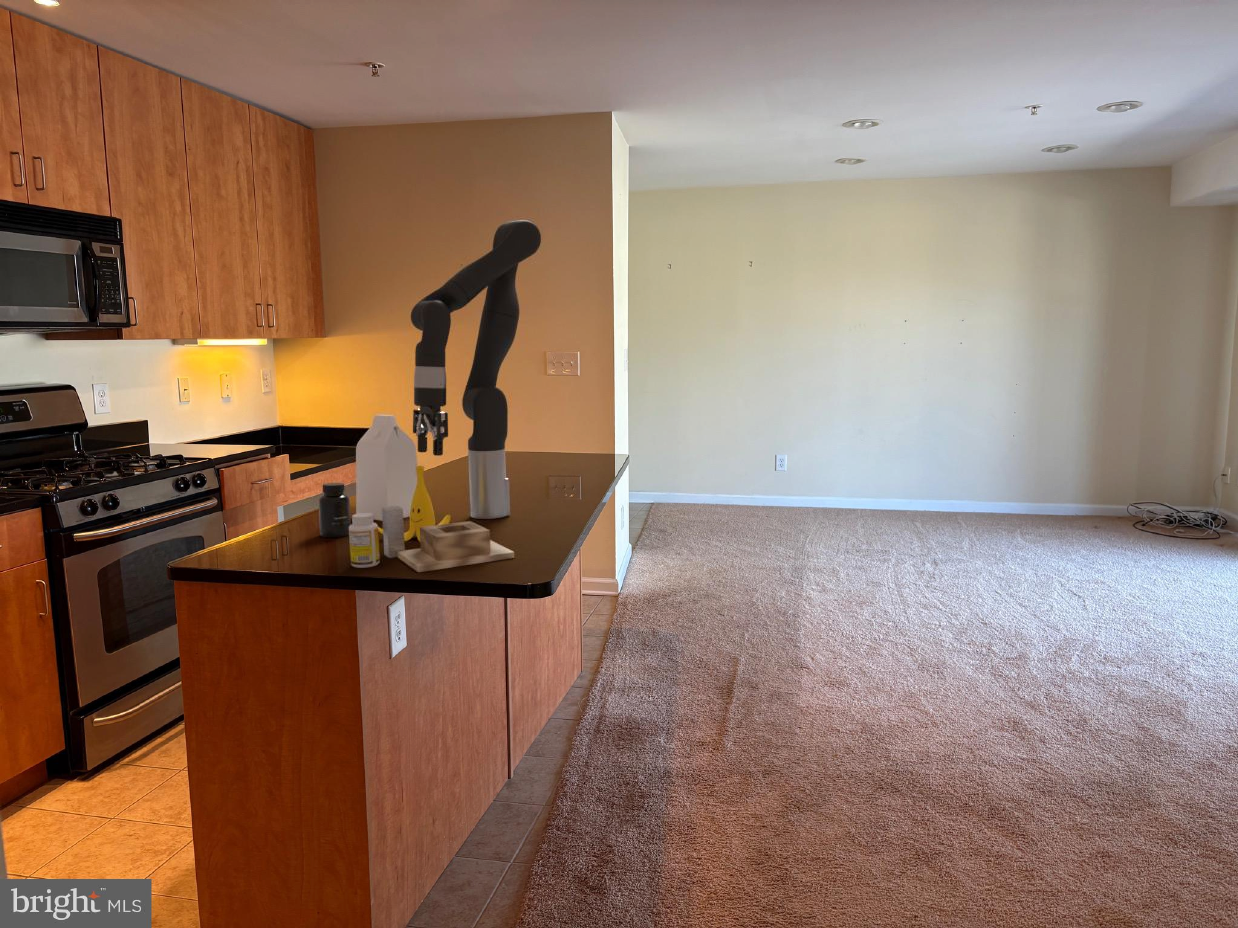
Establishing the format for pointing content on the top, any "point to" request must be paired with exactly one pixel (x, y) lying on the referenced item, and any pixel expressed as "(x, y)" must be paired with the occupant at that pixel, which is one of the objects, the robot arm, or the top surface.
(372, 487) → the milk
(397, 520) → the gray rectangular block
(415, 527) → the banana peel
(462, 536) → the stone box on board
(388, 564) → the top surface
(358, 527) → the supplement bottle
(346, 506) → the supplement bottle
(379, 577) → the top surface
